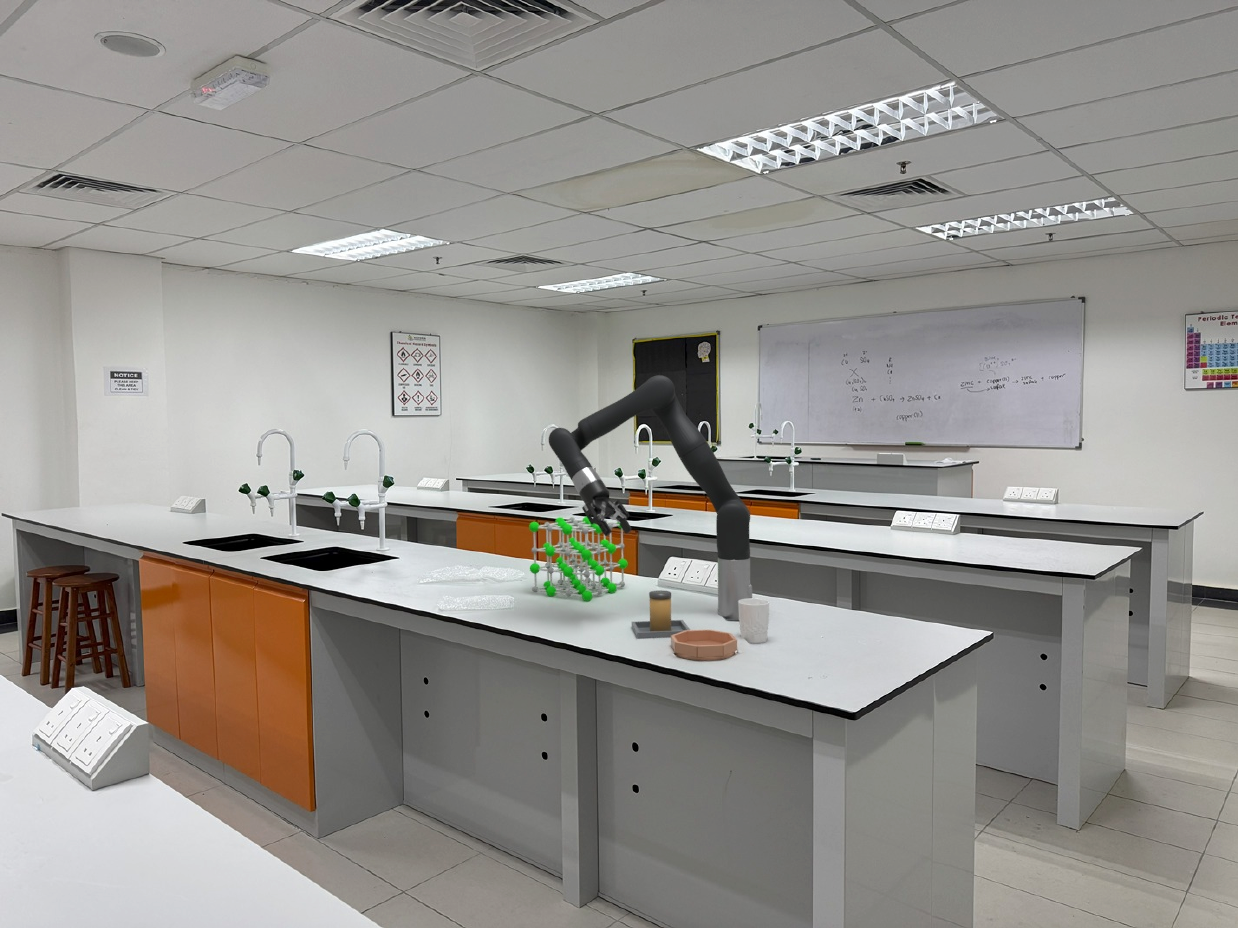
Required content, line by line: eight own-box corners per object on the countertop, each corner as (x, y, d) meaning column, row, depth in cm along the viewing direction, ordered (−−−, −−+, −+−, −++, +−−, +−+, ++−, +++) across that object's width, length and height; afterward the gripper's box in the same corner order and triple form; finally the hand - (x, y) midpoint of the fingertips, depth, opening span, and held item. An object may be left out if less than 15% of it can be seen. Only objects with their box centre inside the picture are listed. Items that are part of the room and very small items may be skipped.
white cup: (762, 645, 206) (762, 606, 205) (733, 641, 210) (733, 602, 209) (774, 638, 212) (773, 600, 212) (745, 634, 216) (745, 597, 216)
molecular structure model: (630, 588, 279) (629, 518, 278) (588, 602, 258) (587, 526, 257) (572, 582, 292) (571, 514, 291) (528, 594, 271) (526, 522, 270)
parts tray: (682, 628, 223) (682, 619, 223) (691, 640, 211) (691, 630, 211) (631, 630, 222) (631, 621, 222) (637, 642, 210) (637, 632, 210)
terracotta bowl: (726, 642, 209) (726, 628, 209) (741, 659, 194) (741, 644, 194) (667, 644, 207) (667, 631, 207) (678, 661, 192) (678, 647, 192)
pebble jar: (669, 628, 220) (669, 590, 219) (673, 633, 214) (672, 594, 214) (648, 629, 219) (647, 590, 219) (651, 634, 213) (650, 595, 213)
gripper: (580, 479, 224) (609, 526, 217) (614, 478, 235) (643, 522, 228) (565, 496, 228) (594, 543, 221) (599, 494, 239) (627, 539, 232)
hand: (619, 533), depth 225 cm, fingers open, 8 cm apart
